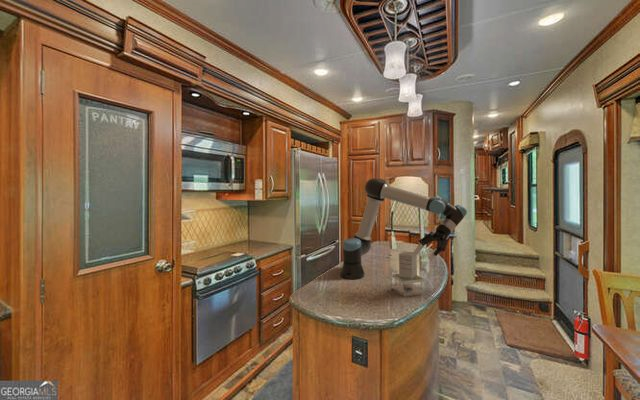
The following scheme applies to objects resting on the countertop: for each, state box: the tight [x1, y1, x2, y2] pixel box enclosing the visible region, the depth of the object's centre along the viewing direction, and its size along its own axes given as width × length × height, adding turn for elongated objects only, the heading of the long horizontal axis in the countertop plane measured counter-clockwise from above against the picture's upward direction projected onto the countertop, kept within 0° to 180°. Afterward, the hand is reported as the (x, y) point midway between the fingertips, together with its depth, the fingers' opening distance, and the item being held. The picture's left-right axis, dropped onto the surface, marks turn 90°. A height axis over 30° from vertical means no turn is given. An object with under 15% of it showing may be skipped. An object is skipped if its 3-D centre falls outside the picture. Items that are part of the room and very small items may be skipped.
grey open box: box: [391, 273, 425, 298], centre depth 146 cm, size 12×12×8 cm
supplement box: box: [398, 250, 418, 279], centre depth 146 cm, size 7×7×13 cm
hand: (422, 256), depth 151 cm, fingers open, 13 cm apart
